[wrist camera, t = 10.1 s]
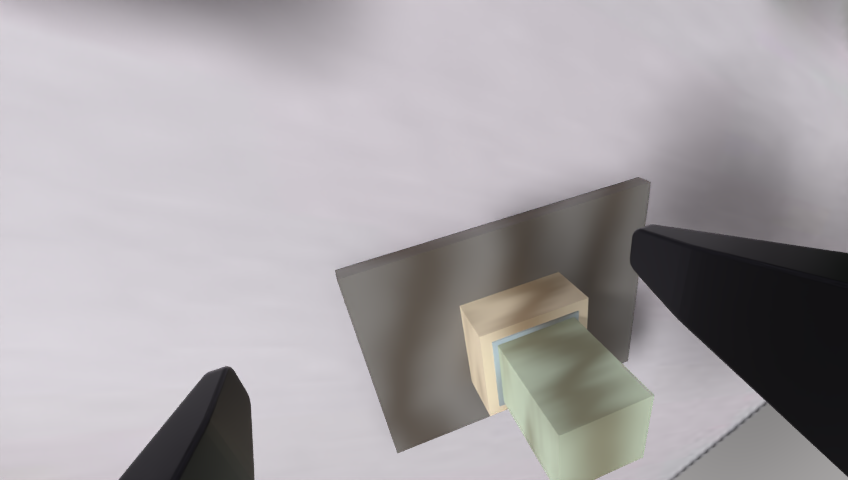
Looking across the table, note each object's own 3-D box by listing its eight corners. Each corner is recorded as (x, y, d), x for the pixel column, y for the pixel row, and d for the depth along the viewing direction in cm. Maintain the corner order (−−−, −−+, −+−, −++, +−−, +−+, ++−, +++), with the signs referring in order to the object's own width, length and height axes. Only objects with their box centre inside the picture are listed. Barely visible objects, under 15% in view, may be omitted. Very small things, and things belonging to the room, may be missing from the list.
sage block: (574, 316, 23) (654, 395, 18) (572, 374, 26) (643, 457, 21) (497, 345, 22) (559, 436, 17) (503, 401, 25) (559, 495, 20)
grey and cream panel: (638, 177, 25) (694, 199, 22) (619, 352, 33) (657, 389, 30) (335, 270, 22) (343, 314, 18) (394, 441, 30) (408, 495, 26)
